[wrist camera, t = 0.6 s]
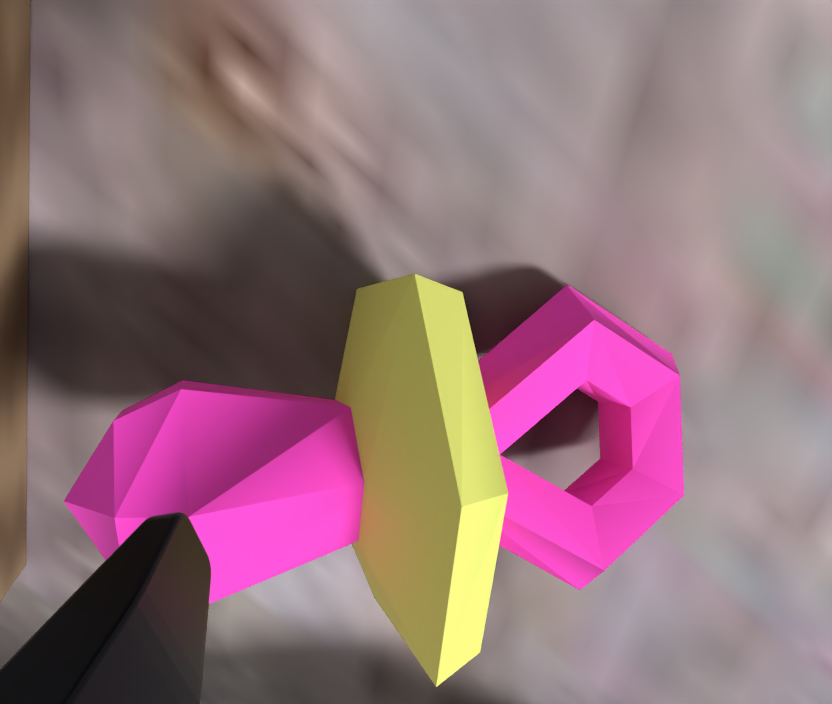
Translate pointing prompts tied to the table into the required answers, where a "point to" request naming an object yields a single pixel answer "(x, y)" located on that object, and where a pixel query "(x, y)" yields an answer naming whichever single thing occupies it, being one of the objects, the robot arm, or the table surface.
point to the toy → (406, 461)
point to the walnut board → (13, 284)
